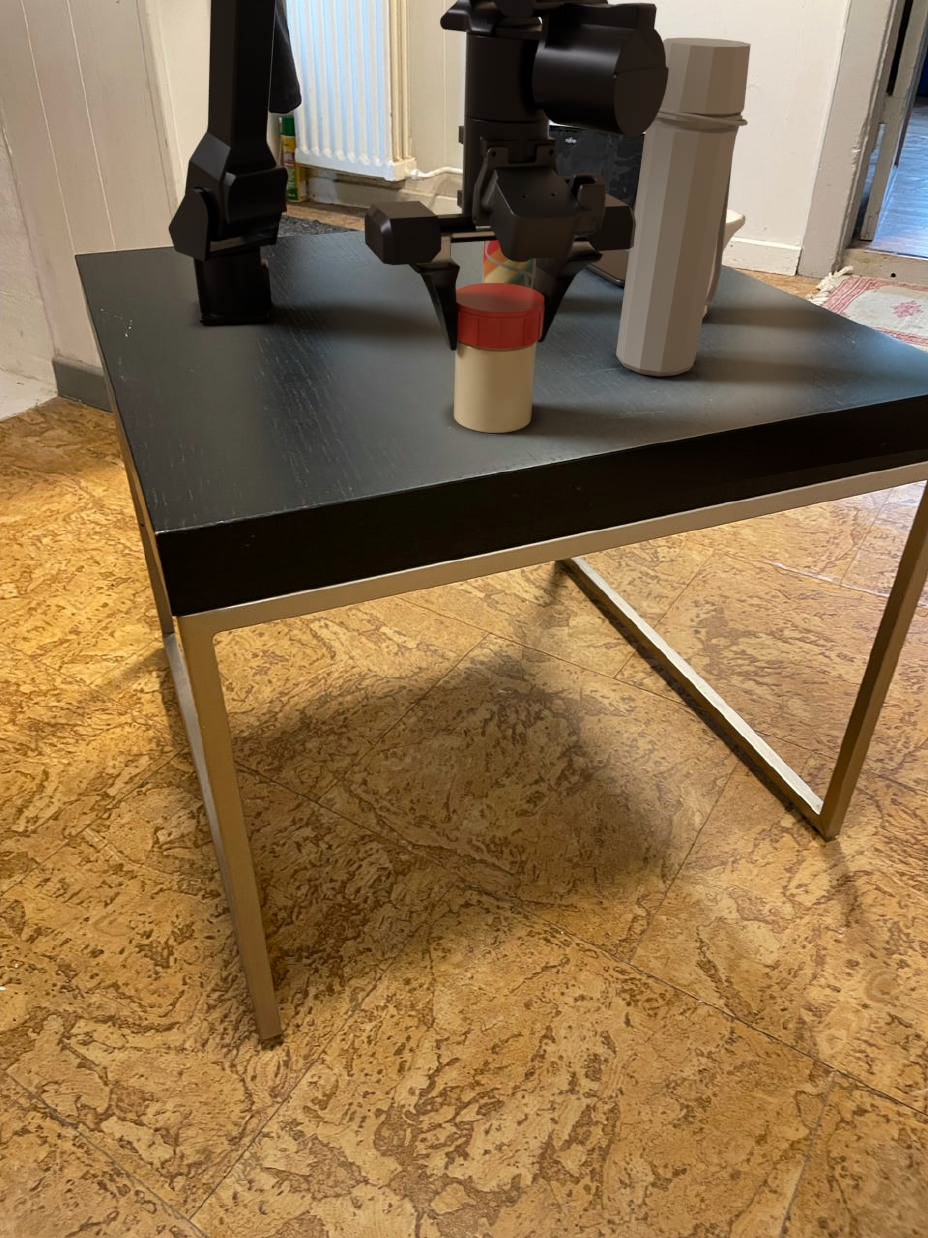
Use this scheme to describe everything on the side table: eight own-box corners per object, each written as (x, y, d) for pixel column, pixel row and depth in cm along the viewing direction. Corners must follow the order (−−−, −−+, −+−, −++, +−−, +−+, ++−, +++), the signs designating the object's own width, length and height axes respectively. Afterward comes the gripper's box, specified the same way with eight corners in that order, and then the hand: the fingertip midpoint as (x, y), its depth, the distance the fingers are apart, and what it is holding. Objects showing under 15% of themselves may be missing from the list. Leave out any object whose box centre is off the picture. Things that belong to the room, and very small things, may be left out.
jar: (462, 435, 72) (465, 320, 67) (447, 402, 77) (449, 293, 71) (539, 430, 73) (549, 317, 68) (520, 398, 78) (527, 290, 73)
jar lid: (502, 356, 67) (504, 318, 65) (432, 332, 70) (432, 296, 69) (559, 333, 71) (563, 297, 70) (491, 311, 75) (492, 276, 73)
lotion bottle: (515, 315, 94) (525, 88, 82) (470, 303, 97) (474, 82, 85) (547, 301, 98) (561, 82, 86) (503, 290, 101) (511, 76, 89)
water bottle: (647, 386, 81) (700, 48, 66) (596, 355, 86) (634, 36, 71) (730, 370, 84) (798, 46, 69) (676, 341, 90) (728, 35, 75)
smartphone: (675, 282, 105) (605, 245, 115) (677, 274, 104) (605, 238, 115) (619, 289, 102) (552, 251, 113) (620, 281, 101) (553, 243, 112)
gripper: (404, 142, 53) (406, 399, 63) (691, 133, 59) (654, 372, 68) (358, 110, 62) (366, 341, 71) (613, 105, 67) (589, 321, 76)
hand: (495, 344), depth 71 cm, fingers closed on jar lid, 7 cm apart
